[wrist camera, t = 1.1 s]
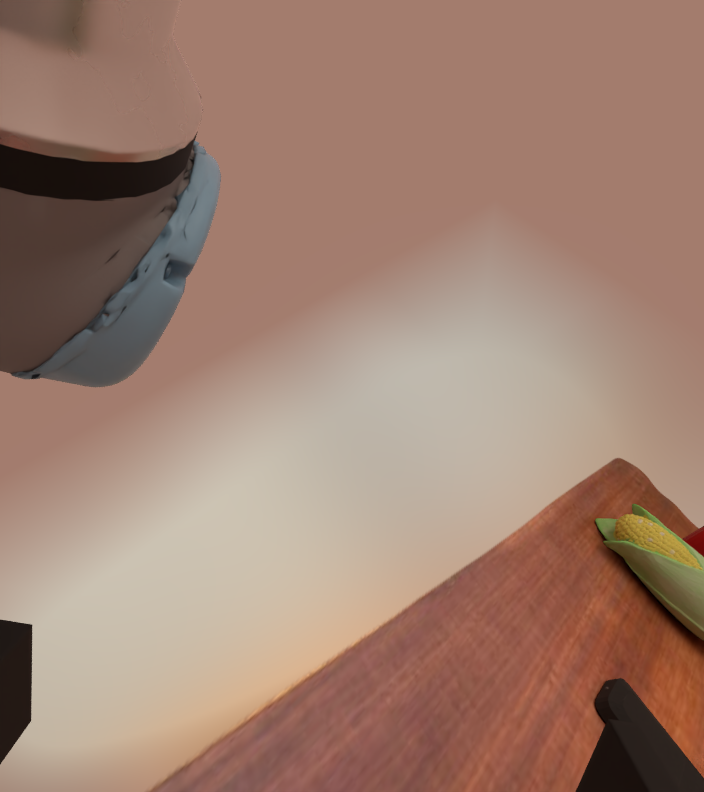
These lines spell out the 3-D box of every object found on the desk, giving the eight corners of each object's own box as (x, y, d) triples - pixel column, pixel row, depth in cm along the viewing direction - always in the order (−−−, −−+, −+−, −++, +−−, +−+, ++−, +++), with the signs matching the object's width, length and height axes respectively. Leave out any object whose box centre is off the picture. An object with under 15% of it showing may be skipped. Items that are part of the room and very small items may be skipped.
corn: (760, 672, 50) (606, 520, 57) (707, 671, 57) (576, 536, 64) (798, 620, 52) (646, 481, 60) (744, 625, 59) (614, 501, 67)
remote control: (744, 858, 39) (608, 676, 45) (766, 855, 38) (623, 669, 44) (739, 910, 35) (591, 704, 41) (763, 909, 34) (608, 698, 40)
